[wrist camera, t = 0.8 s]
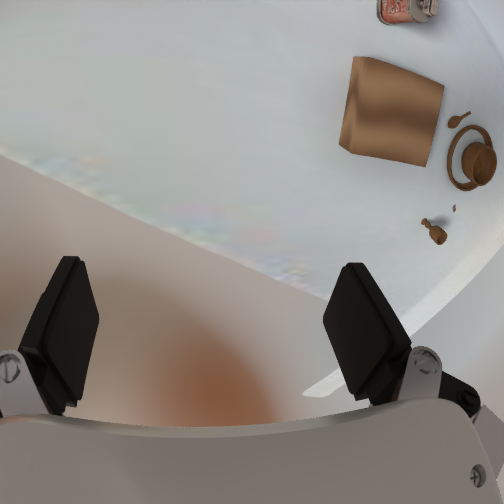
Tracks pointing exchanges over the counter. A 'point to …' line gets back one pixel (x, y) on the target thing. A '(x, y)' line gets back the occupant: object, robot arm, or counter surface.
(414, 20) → the lighter
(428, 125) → the walnut base
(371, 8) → the counter surface
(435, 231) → the place setting
